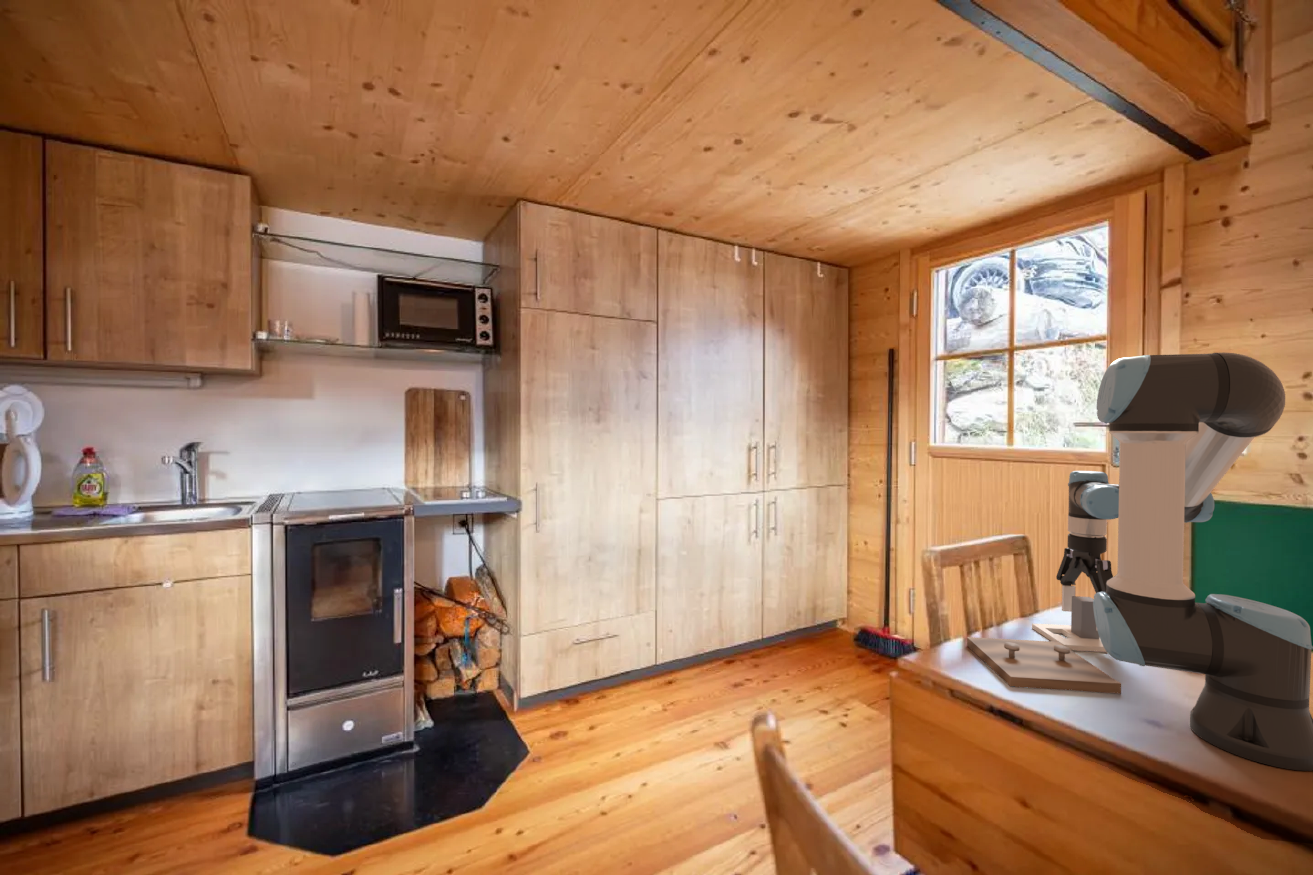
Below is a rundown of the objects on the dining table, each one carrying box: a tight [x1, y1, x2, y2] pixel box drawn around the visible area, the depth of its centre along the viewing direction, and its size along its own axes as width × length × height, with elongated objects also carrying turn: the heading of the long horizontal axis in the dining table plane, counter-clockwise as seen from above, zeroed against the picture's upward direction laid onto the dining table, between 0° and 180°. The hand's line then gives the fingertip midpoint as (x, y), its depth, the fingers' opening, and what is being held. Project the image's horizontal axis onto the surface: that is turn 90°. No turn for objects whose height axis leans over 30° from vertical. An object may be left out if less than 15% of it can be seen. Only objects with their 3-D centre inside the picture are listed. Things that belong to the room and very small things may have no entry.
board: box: [966, 636, 1122, 695], centre depth 119 cm, size 21×20×5 cm
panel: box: [1031, 595, 1107, 653], centre depth 134 cm, size 14×17×10 cm
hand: (1085, 620), depth 134 cm, fingers open, 13 cm apart
